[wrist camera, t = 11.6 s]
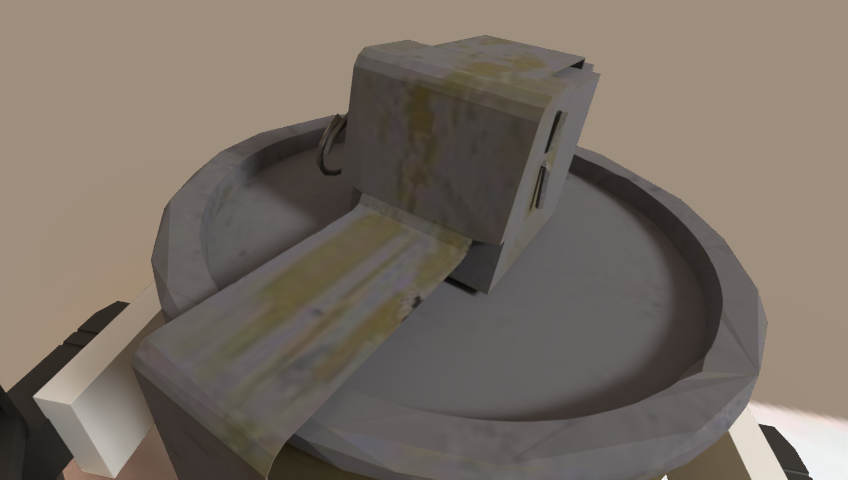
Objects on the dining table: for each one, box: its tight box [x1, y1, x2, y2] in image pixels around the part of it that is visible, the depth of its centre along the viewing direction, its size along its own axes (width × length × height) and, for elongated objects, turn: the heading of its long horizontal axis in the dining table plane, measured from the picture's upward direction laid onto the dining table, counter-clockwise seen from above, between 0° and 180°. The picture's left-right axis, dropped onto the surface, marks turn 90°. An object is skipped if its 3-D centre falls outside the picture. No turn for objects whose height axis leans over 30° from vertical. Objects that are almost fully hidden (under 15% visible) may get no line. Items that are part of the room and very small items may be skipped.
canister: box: [131, 35, 768, 480], centre depth 12 cm, size 11×10×20 cm
